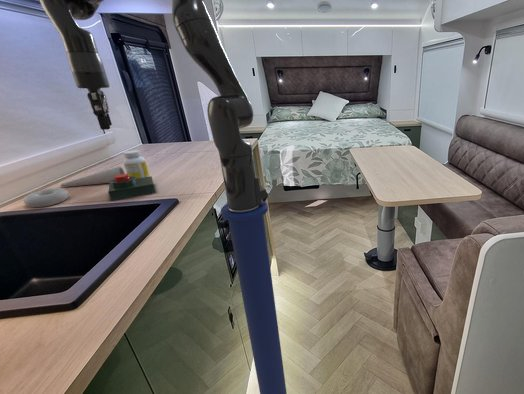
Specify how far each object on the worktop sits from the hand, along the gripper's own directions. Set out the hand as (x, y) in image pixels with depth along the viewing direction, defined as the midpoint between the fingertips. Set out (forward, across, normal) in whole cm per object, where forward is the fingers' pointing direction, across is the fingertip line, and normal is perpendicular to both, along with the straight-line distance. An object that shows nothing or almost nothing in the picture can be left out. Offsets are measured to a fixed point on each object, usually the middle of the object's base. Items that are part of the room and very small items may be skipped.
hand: (106, 127), depth 90 cm
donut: (+22, -5, -20) cm, 30 cm away
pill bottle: (+22, -11, +4) cm, 25 cm away
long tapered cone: (+22, -17, -10) cm, 30 cm away
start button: (+17, 0, 0) cm, 17 cm away
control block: (+22, 0, +2) cm, 22 cm away
